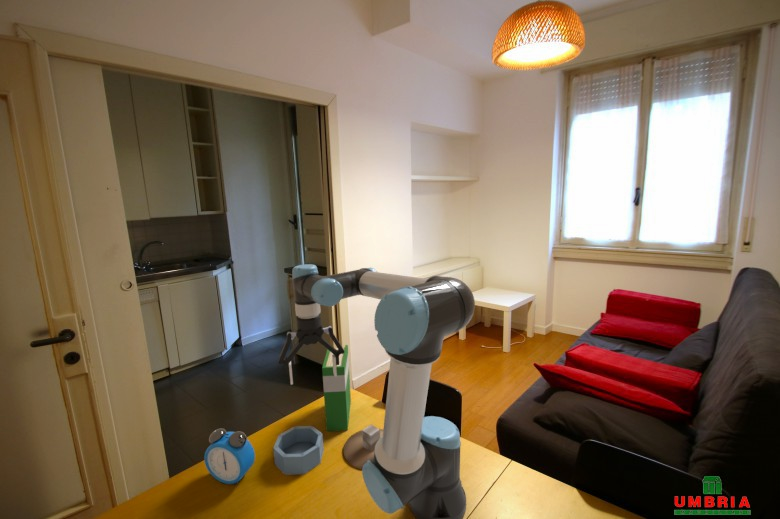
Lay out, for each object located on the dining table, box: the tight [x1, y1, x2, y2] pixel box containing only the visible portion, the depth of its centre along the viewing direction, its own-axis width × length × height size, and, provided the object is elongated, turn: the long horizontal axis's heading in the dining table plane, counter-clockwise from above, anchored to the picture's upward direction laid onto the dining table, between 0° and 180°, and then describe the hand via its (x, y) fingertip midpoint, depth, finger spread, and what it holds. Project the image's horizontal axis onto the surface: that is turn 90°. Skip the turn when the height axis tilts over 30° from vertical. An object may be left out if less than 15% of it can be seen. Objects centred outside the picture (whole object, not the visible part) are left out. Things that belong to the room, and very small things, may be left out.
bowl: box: [272, 425, 324, 476], centre depth 114 cm, size 14×14×6 cm
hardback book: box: [321, 344, 352, 432], centre depth 134 cm, size 18×7×24 cm, turn 2°
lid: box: [343, 424, 384, 470], centre depth 117 cm, size 18×18×7 cm
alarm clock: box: [203, 427, 256, 486], centre depth 106 cm, size 13×6×15 cm, turn 75°
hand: (313, 378), depth 115 cm, fingers open, 13 cm apart
